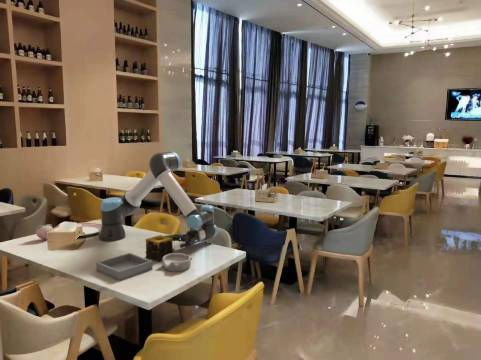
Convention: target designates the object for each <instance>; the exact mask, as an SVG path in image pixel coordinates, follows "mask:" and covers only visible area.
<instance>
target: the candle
mask: <svg viewBox="0 0 481 360" xmlns="http://www.w3.org/2000/svg"><path fill="white" fill-rule="evenodd" d="M173 243H174V241H173V238H170V237H166V236H165V235H161V234H159V235H155V236H152V237H149V238H146V239H145V259H148V260H150V261H156V262H158V263H159V262H162V259H163V257H164V256H165V255H167V254H171V253H174V244H173Z"/></svg>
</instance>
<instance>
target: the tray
mask: <svg viewBox="0 0 481 360" xmlns="http://www.w3.org/2000/svg"><path fill="white" fill-rule="evenodd" d="M95 263H96V266H95V267H96V272H98V273H100V274H103V275H105V276H107V277H110V278H112V279H114V280H117V281H118V282H119V281H122V280H126V279H128V278H131V277H134V276H137V275H139V274H144V273H147V272H149V271H151V270H153V260H151V259H149V258H146V257H145V258H144V257H141V256H139V255H136V254H133V253H130V252H128V253H125V254H121V255H118V256H114V257H111V258H107V259H103V260H100V261H97V262H95Z"/></svg>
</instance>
